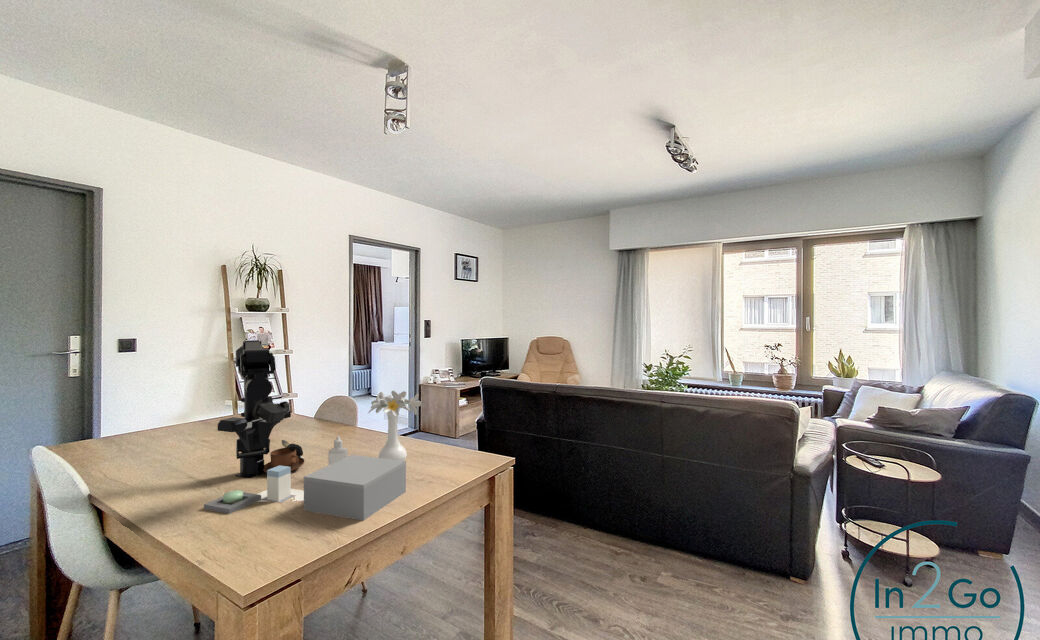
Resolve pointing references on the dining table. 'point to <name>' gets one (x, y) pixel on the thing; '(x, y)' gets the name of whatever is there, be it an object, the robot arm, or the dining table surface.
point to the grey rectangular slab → (354, 486)
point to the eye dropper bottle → (337, 452)
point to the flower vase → (394, 421)
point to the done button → (233, 496)
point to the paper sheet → (294, 493)
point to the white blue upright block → (278, 483)
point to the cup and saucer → (284, 459)
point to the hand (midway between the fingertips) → (256, 449)
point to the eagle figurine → (292, 447)
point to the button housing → (226, 508)
